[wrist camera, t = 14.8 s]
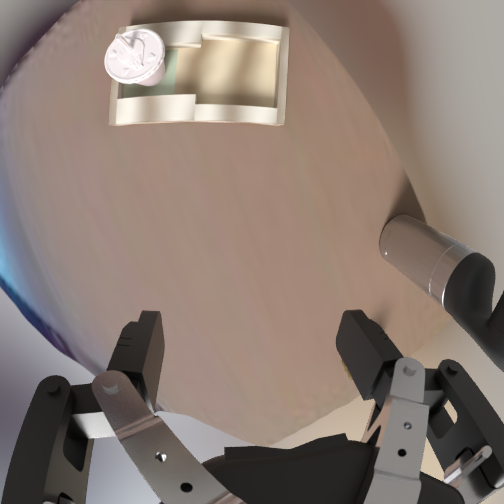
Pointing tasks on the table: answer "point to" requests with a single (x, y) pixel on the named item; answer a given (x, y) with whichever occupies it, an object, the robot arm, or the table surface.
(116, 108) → the cream rectangular tray
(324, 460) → the robot arm
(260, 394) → the table surface
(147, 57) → the smoothie
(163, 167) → the table surface
